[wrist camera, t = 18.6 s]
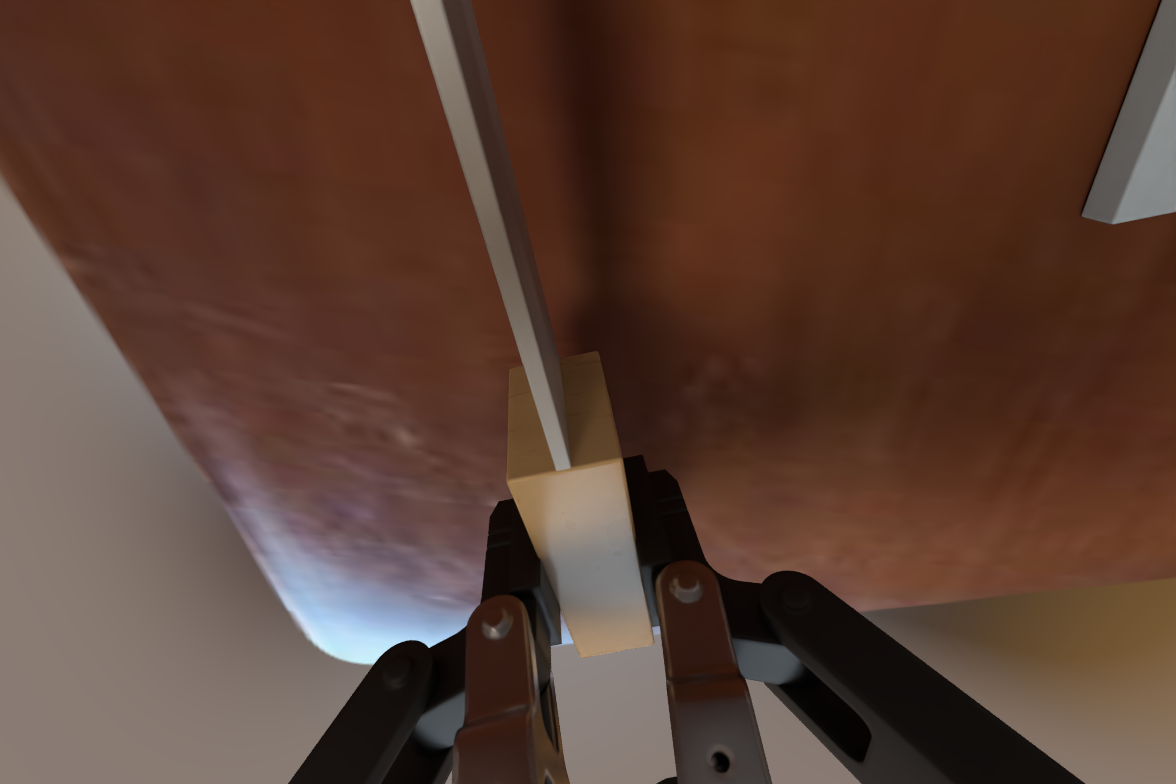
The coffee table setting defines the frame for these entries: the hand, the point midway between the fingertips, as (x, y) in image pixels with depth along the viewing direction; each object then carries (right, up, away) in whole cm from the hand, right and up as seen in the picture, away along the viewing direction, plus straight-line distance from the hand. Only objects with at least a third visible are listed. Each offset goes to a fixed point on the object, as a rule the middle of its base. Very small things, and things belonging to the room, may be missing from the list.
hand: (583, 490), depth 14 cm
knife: (-1, +4, -2) cm, 5 cm away
